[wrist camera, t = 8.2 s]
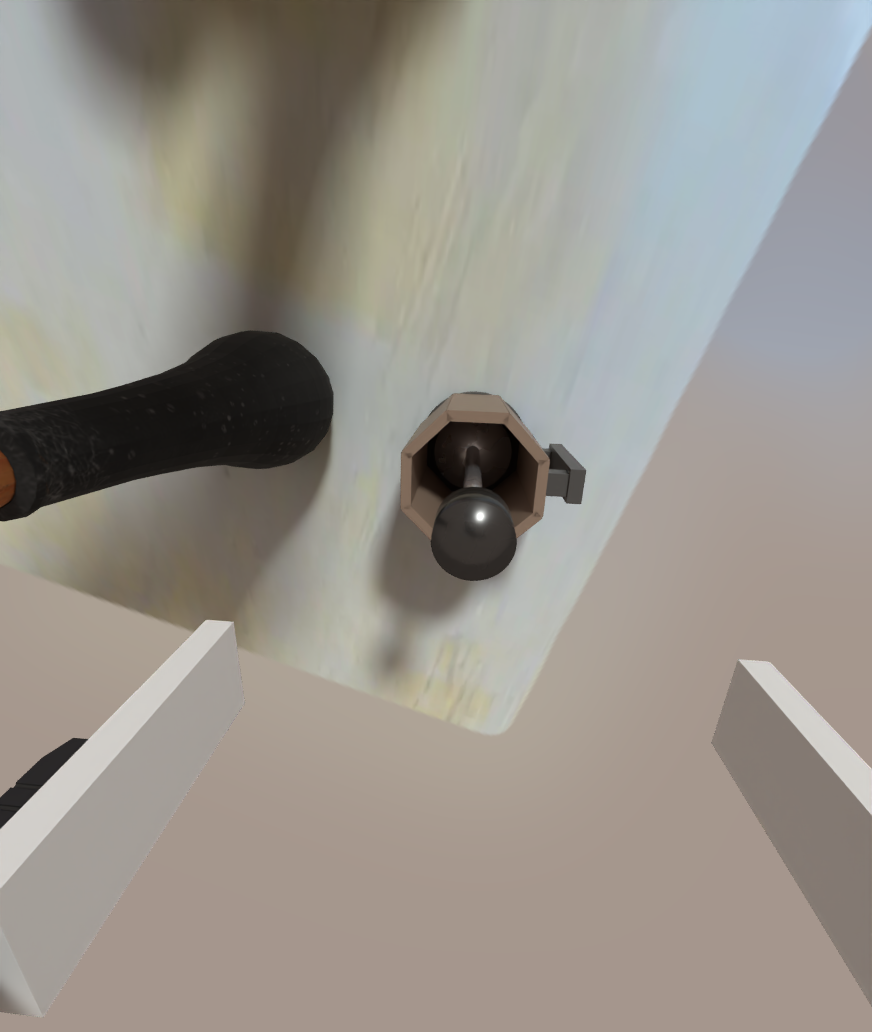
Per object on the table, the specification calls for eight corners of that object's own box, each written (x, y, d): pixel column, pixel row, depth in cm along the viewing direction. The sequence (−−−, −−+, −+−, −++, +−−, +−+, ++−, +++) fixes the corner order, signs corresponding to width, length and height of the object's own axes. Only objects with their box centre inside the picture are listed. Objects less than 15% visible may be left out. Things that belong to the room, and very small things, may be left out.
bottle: (316, 471, 45) (50, 678, 16) (218, 412, 43) (-252, 525, 15) (368, 376, 41) (145, 431, 13) (264, 308, 40) (-235, 206, 12)
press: (420, 389, 41) (399, 405, 29) (560, 395, 40) (599, 414, 28) (418, 494, 45) (398, 549, 32) (547, 502, 44) (576, 560, 32)
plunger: (436, 410, 40) (402, 467, 20) (514, 414, 40) (556, 476, 20) (433, 485, 42) (400, 601, 23) (507, 489, 42) (538, 610, 22)
